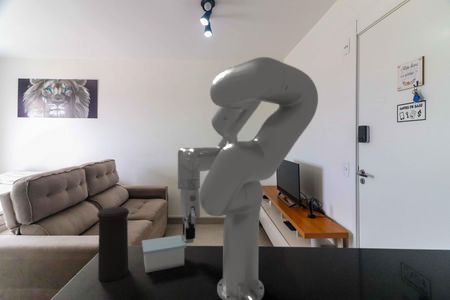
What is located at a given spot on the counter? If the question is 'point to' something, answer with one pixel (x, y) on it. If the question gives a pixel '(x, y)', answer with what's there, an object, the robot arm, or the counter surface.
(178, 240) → the lid
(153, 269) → the tub
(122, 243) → the container
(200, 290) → the counter surface
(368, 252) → the counter surface
